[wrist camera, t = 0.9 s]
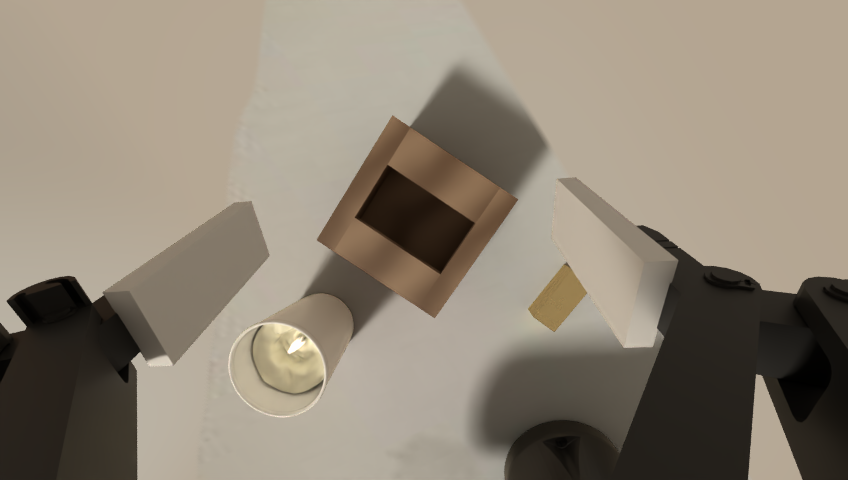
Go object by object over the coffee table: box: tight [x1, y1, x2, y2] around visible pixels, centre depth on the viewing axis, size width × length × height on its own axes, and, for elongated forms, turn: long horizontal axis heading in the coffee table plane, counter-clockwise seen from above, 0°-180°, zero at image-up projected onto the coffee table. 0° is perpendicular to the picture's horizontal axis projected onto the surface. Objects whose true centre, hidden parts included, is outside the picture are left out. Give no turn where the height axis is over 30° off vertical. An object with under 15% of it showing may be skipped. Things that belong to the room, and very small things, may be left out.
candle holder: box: [228, 293, 354, 417], centre depth 38 cm, size 10×10×12 cm
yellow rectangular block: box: [528, 265, 587, 332], centre depth 40 cm, size 3×7×3 cm, turn 144°
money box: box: [317, 115, 518, 318], centre depth 37 cm, size 14×14×9 cm
